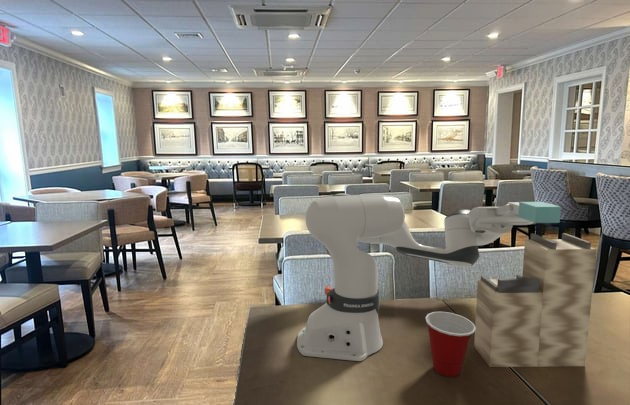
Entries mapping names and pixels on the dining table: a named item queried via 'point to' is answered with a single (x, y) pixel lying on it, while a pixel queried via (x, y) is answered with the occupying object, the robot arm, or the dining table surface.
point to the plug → (537, 211)
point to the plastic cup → (448, 341)
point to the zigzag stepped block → (538, 307)
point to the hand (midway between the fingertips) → (517, 206)
